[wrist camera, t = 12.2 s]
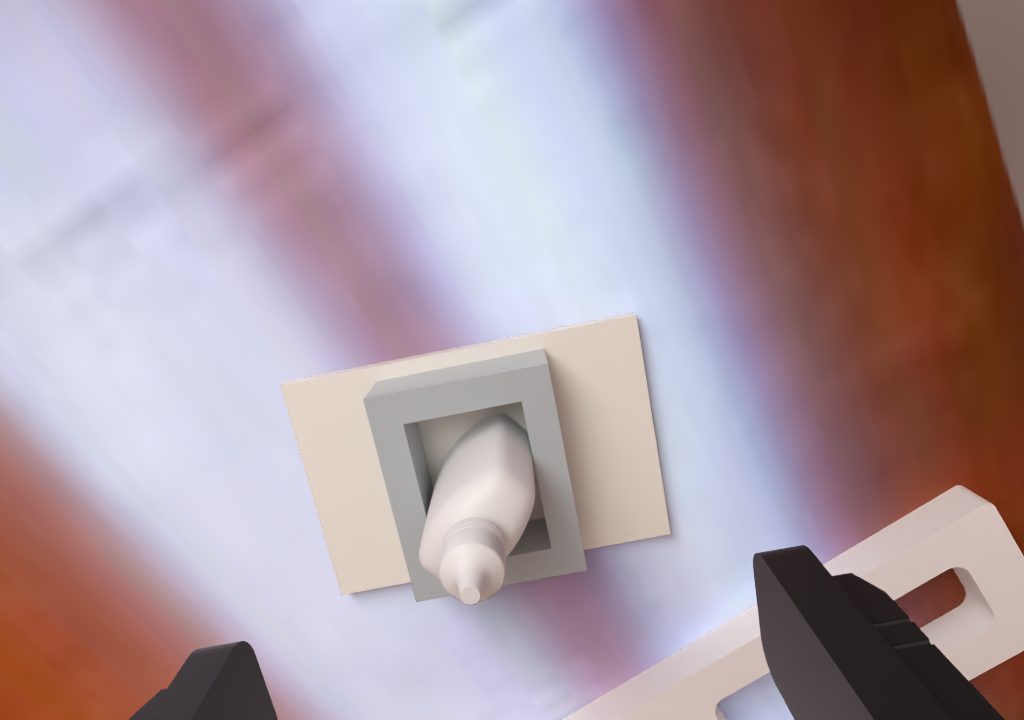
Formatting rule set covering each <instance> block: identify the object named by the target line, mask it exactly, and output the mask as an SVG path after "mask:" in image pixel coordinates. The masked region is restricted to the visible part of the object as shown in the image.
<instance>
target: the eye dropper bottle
mask: <svg viewBox="0 0 1024 720" xmlns="http://www.w3.org/2000/svg"><path fill="white" fill-rule="evenodd" d="M534 500H535V485H534V474H533V463H532V453H531V446H530V441H529V436H528V433H527V432H526V431H525V430H524V429H523V428H521V427H520V426H519V425H517V424H516V423H515V422H514V421H512V420H511V419H510V418H508V417H507V416H505V415H502V414H496V415H493V416H490V417H488V418H486V419H484V420H483V421H481V422H479V423H478V424H476V425H475V426H473V427H472V428H471V429H470V430H468V431H467V432H466V433H465V434H464V435H463V436H462V437H461V438H460V439H459V440H458V441H457V442H456V443H455V445H454V446H453V447H452V449H451V450H450V451H449V453H448V455H447V456H446V458H445V460H444V462H443V464H442V466H441V468H440V470H439V473H438V476H437V479H436V482H435V486H434V490H433V494H432V498H431V502H430V506H429V510H428V514H427V518H426V522H425V526H424V530H423V535H422V539H421V544H420V550H419V559H420V563H421V565H422V566H423V567H424V569H426V570H427V571H428V572H429V573H430V574H431V575H433V576H434V577H436V578H437V579H438V580H440V581H441V584H442V585H443V587H444V588H445V590H447V592H448V593H449V594H450V595H452V596H453V597H455V598H457V599H459V600H461V601H462V602H463V603H465V604H467V605H473V604H475V603H477V602H479V601H483V600H486V599H489V597H492V596H493V595H494V594H495V593H497V591H499V589H500V588H501V586H502V585H503V583H504V580H505V576H506V557H507V556H508V555H509V553H510V552H511V551H512V550H513V548H514V547H515V545H516V544H517V542H518V541H519V539H520V538H521V536H522V534H523V532H524V530H525V528H526V526H527V523H528V521H529V518H530V515H531V512H532V509H533V505H534Z"/></svg>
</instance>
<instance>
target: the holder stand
mask: <svg viewBox="0 0 1024 720" xmlns="http://www.w3.org/2000/svg"><path fill="white" fill-rule="evenodd" d="M281 389H282V392H283V396H284V399H285V402H286V406H287V409H288V413H289V416H290V420H291V423H292V427H293V430H294V433H295V437H296V440H297V444H298V447H299V451H300V454H301V457H302V461H303V464H304V468H305V471H306V475H307V478H308V482H309V485H310V488H311V492H312V495H313V499H314V502H315V506H316V509H317V513H318V516H319V519H320V523H321V526H322V530H323V533H324V537H325V540H326V544H327V547H328V550H329V554H330V557H331V561H332V564H333V568H334V571H335V574H336V578H337V581H338V585H339V588H340V592H341V595H344V594H350V593H355V592H361V591H366V590H371V589H377V588H382V587H388V586H393V585H398V584H404V583H409V582H411V584H412V588H413V592H414V596H415V600H416V602H419V601H424V600H430V599H435V598H441V597H446V596H452V595H450V594H449V593H448V592H447V590H445V588H444V587H443V585H442V584H441V581H440V580H438V579H437V578H436V577H434V576H433V575H431V574H430V573H429V572H428V571H427V570H426V569H424V567H423V566H422V565H421V563H420V559H419V550H420V544H421V539H422V535H423V530H424V526H425V522H426V518H427V514H428V510H429V506H430V502H431V498H432V494H433V490H434V486H435V482H436V479H437V476H438V473H439V470H440V468H441V466H442V464H443V462H444V460H445V458H446V456H447V455H448V453H449V451H450V450H451V449H452V447H453V446H454V445H455V443H456V442H457V441H458V440H459V439H460V438H461V437H462V436H463V435H464V434H465V433H466V432H467V431H468V430H470V429H471V428H472V427H473V426H475V425H476V424H478V423H479V422H481V421H483V420H484V419H486V418H488V417H490V416H493V415H496V414H502V415H505V416H507V417H508V418H510V419H511V420H512V421H514V422H515V423H516V424H517V425H519V426H520V427H521V428H523V429H524V430H525V431H526V432H527V433H528V436H529V441H530V446H531V453H532V463H533V474H534V485H535V500H534V505H533V509H532V512H531V515H530V518H529V521H528V523H527V526H526V528H525V530H524V532H523V534H522V536H521V538H520V539H519V541H518V542H517V544H516V545H515V547H514V548H513V550H512V551H511V552H510V553H509V555H508V556H507V557H506V576H505V580H504V583H503V585H502V586H506V585H511V584H517V583H522V582H528V581H533V580H539V579H544V578H550V577H555V576H560V575H566V574H571V573H577V572H582V571H588V570H587V565H586V559H585V554H584V550H588V549H593V548H598V547H604V546H609V545H615V544H620V543H626V542H631V541H636V540H642V539H647V538H653V537H658V536H663V535H669V534H671V533H670V527H669V521H668V514H667V508H666V502H665V495H664V489H663V482H662V476H661V470H660V463H659V457H658V450H657V444H656V438H655V431H654V425H653V419H652V412H651V406H650V399H649V393H648V387H647V380H646V374H645V368H644V361H643V355H642V348H641V342H640V336H639V329H638V323H637V317H636V314H634V313H628V314H623V315H618V316H613V317H608V318H603V319H598V320H593V321H588V322H583V323H578V324H573V325H567V326H562V327H557V328H552V329H547V330H542V331H537V332H532V333H527V334H522V335H517V336H512V337H507V338H502V339H496V340H491V341H486V342H481V343H476V344H471V345H466V346H461V347H456V348H451V349H446V350H441V351H436V352H431V353H425V354H420V355H415V356H410V357H405V358H400V359H395V360H390V361H385V362H380V363H375V364H370V365H365V366H360V367H354V368H349V369H344V370H339V371H334V372H329V373H324V374H319V375H314V376H309V377H304V378H299V379H294V380H289V381H285V382H284V383H283V384H281Z"/></svg>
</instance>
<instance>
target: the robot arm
mask: <svg viewBox="0 0 1024 720" xmlns="http://www.w3.org/2000/svg"><path fill="white" fill-rule="evenodd" d="M753 569H754V578H755V588H756V597H757V606H758V615H759V625H760V634H761V641H762V646H763V651H764V654H765V658H766V661H767V664H768V667H769V670H770V673H771V675H772V678H773V680H774V682H775V684H776V686H777V688H778V689H779V691H780V693H781V695H782V697H783V699H784V701H785V702H786V704H787V706H788V708H789V710H790V712H791V714H792V715H793V717H794V719H795V720H1005V719H1004V718H1003V717H1002V716H1001V715H1000V714H999V713H998V712H997V711H996V710H995V709H994V708H993V707H992V706H991V704H990V703H989V702H988V701H987V700H986V699H985V698H984V697H983V696H982V695H981V694H980V693H979V692H978V691H977V689H976V688H975V687H974V686H973V685H972V684H971V683H970V682H969V681H968V680H967V679H966V678H965V677H964V676H963V674H962V673H961V672H960V671H959V670H958V669H957V668H956V667H955V666H954V665H953V664H952V663H951V662H950V661H949V659H948V658H947V657H946V656H945V655H944V654H943V653H942V652H941V651H940V650H939V649H938V648H937V647H936V646H935V644H931V643H930V641H929V638H928V637H927V636H926V635H925V634H924V633H923V632H922V631H921V629H920V628H919V627H918V626H917V625H916V624H915V623H914V622H910V620H909V617H908V616H907V614H906V613H905V612H904V611H903V610H902V609H901V608H900V607H899V606H898V605H897V604H896V603H895V602H894V601H893V599H892V598H891V597H890V596H889V595H888V594H887V593H886V592H885V591H883V590H881V589H880V588H878V587H876V586H874V585H872V584H871V583H869V582H867V581H865V580H863V579H862V578H860V577H858V576H856V575H854V574H853V573H847V574H841V575H835V576H832V575H831V574H830V573H829V572H828V570H827V569H826V568H825V567H824V566H823V564H822V563H821V562H820V561H819V560H818V558H817V557H816V556H815V555H814V554H813V552H812V551H811V550H810V549H809V548H808V547H807V546H804V545H801V546H796V547H790V548H784V549H778V550H773V551H767V552H761V553H756V554H755V555H754V558H753ZM129 720H278V719H277V715H276V712H275V710H274V707H273V704H272V701H271V698H270V695H269V692H268V690H267V687H266V684H265V681H264V678H263V675H262V672H261V669H260V667H259V664H258V661H257V658H256V655H255V653H254V650H253V648H252V647H251V645H250V644H249V643H247V642H245V641H241V642H235V643H230V644H224V645H218V646H212V647H207V648H201V649H197V650H195V651H193V652H192V653H191V654H190V656H189V657H188V658H187V660H186V661H185V663H184V664H183V666H182V667H181V669H180V670H179V672H178V673H177V675H176V676H175V678H174V679H173V681H172V682H171V684H170V685H169V687H168V688H167V689H162V690H160V691H159V692H158V693H157V694H156V695H155V696H154V697H153V698H152V699H151V700H150V701H148V702H147V703H146V704H145V705H144V706H143V707H142V708H141V709H140V710H139V711H137V712H136V713H135V714H134V715H133V716H132V717H131V718H130V719H129Z"/></svg>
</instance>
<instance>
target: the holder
mask: <svg viewBox="0 0 1024 720" xmlns="http://www.w3.org/2000/svg"><path fill="white" fill-rule="evenodd" d="M823 566H824V567H825V568H826V569H827V570H828V572H829V573H830V574H831V575H832V576H835V575H841V574H847V573H853V574H854V575H856V576H858V577H860V578H862V579H863V580H865V581H867V582H869V583H871V584H872V585H874V586H876V587H878V588H880V589H881V590H883V591H885V592H886V593H887V594H888V595H889V596H890V597H891V598H892V599H893V601H894V600H896V599H897V598H899V597H901V596H903V595H904V594H906V593H908V592H910V591H911V590H913V589H915V588H917V587H918V586H920V585H922V584H923V583H925V582H927V581H929V580H930V579H932V578H934V577H936V576H937V575H939V574H941V573H943V572H944V571H946V570H948V569H950V568H953V570H954V571H955V573H956V575H957V576H958V578H959V580H960V581H961V583H962V585H963V586H964V588H965V591H966V597H965V599H964V601H963V603H962V604H961V605H960V606H958V607H957V608H955V609H953V610H951V611H950V612H948V613H946V614H944V615H943V616H941V617H939V618H937V619H936V620H934V621H932V622H930V623H929V624H927V625H925V626H923V627H922V628H920V629H921V631H922V632H923V633H924V634H925V635H926V636H927V637H928V638H929V641H930V643H931V644H935V646H936V647H937V648H938V649H939V650H940V651H941V652H942V653H943V654H944V655H945V656H946V657H947V658H948V659H949V661H950V662H951V663H952V664H953V665H954V666H955V667H956V668H957V669H958V670H959V671H960V672H961V673H962V674H963V676H964V677H965V678H966V679H967V680H968V681H969V680H971V679H973V678H975V677H977V676H978V675H980V674H982V673H984V672H986V671H988V670H989V669H991V668H993V667H995V666H997V665H998V664H1000V663H1002V662H1004V661H1006V660H1008V659H1009V658H1011V657H1013V656H1015V655H1017V654H1018V653H1020V652H1022V651H1024V556H1023V554H1022V553H1021V551H1020V549H1019V547H1018V546H1017V544H1016V542H1015V540H1014V539H1013V537H1012V535H1011V533H1010V532H1009V530H1008V528H1007V526H1006V525H1005V523H1004V521H1003V519H1002V518H1001V516H1000V514H999V512H998V511H997V509H996V507H995V506H994V505H993V504H991V503H990V502H988V501H986V500H985V499H983V498H982V497H980V496H978V495H977V494H975V493H973V492H972V491H970V490H968V489H967V488H965V487H964V486H961V485H957V486H955V487H953V488H951V489H950V490H948V491H946V492H945V493H943V494H941V495H939V496H938V497H936V498H934V499H933V500H931V501H929V502H928V503H926V504H924V505H923V506H921V507H919V508H918V509H916V510H914V511H913V512H911V513H909V514H907V515H906V516H904V517H902V518H901V519H899V520H897V521H896V522H894V523H892V524H891V525H889V526H887V527H886V528H884V529H882V530H881V531H879V532H877V533H875V534H874V535H872V536H870V537H869V538H867V539H865V540H864V541H862V542H860V543H859V544H857V545H855V546H854V547H852V548H850V549H849V550H847V551H845V552H843V553H842V554H840V555H838V556H837V557H835V558H833V559H832V560H830V561H828V562H827V563H825V564H823ZM769 672H770V670H769V667H768V664H767V661H766V658H765V654H764V651H763V646H762V641H761V634H760V625H759V615H758V606H757V604H756V605H754V606H753V607H751V608H749V609H748V610H746V611H744V612H742V613H741V614H739V615H737V616H736V617H734V618H732V619H731V620H729V621H727V622H726V623H724V624H722V625H721V626H719V627H717V628H716V629H714V630H712V631H710V632H709V633H707V634H705V635H704V636H702V637H700V638H699V639H697V640H695V641H694V642H692V643H690V644H689V645H687V646H685V647H684V648H682V649H680V650H678V651H677V652H675V653H673V654H672V655H670V656H668V657H667V658H665V659H663V660H662V661H660V662H658V663H657V664H655V665H653V666H652V667H650V668H648V669H646V670H645V671H643V672H641V673H640V674H638V675H636V676H635V677H633V678H631V679H630V680H628V681H626V682H625V683H623V684H621V685H620V686H618V687H616V688H614V689H613V690H611V691H609V692H608V693H606V694H604V695H603V696H601V697H599V698H598V699H596V700H594V701H593V702H591V703H589V704H588V705H586V706H584V707H582V708H581V709H579V710H577V711H576V712H574V713H572V714H571V715H569V716H567V717H566V718H564V719H562V720H727V718H726V717H725V716H724V714H723V713H722V711H721V710H720V709H719V707H718V706H717V704H718V703H719V702H720V701H721V700H722V699H724V698H726V697H727V696H729V695H731V694H733V693H734V692H736V691H738V690H740V689H741V688H743V687H745V686H746V685H748V684H750V683H752V682H753V681H755V680H757V679H759V678H760V677H762V676H764V675H766V674H767V673H769Z"/></svg>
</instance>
